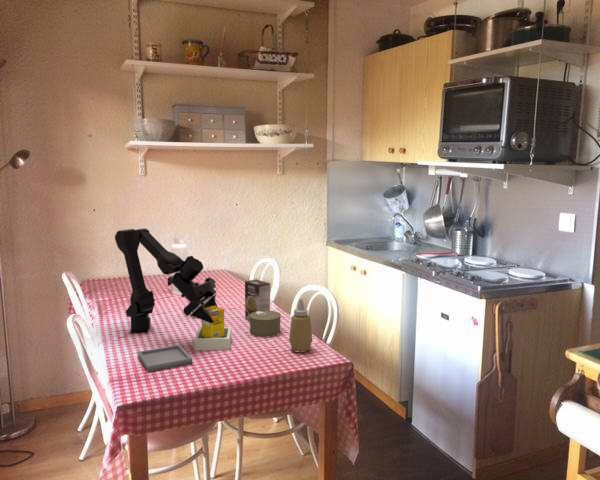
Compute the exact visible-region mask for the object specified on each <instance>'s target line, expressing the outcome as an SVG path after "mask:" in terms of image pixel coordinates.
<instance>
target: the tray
mask: <svg viewBox="0 0 600 480" xmlns="http://www.w3.org/2000/svg"><path fill="white" fill-rule="evenodd" d="M137 358H138V359H139V361H140V363H141V364H142V365H143V366H144V368H145V369H146V371H147V373H152V372H157V371H163V370H169V369H174V368H178V367H184V366H188V365H193V358H192V356H191V355H190V354H189V353H188V352H187V351H186V350H185V348H183V347H182V346H181V345H180V344H176V345H170V346H169V345H168V346H163V347H157V348H153V349H146V350H145V349H144V350H140V351H137Z"/></svg>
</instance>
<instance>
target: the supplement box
mask: <svg viewBox="0 0 600 480" xmlns="http://www.w3.org/2000/svg"><path fill="white" fill-rule="evenodd" d="M217 306H218V305H217ZM217 306H211V307H206V308H205V310H206V311H207V312H208V314H209V315H210V316H211V318H212V319H213V321H214V322H213V323H209V322H207V321H204V320H201V328H202V338H225V334H224V333H225V332H224V328H225V309H224V308H221V307H219V306H218V307H217Z"/></svg>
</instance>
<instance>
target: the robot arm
mask: <svg viewBox="0 0 600 480" xmlns="http://www.w3.org/2000/svg"><path fill="white" fill-rule="evenodd" d="M114 240H115V243H116V246H117V249H118V250H119V251H120V252H122V254H123V256H124V260H125V264H126V265H125V266H126V268H127V273H128V276H129V277H128V278H129V282H130V285H131V289H132V291H131V295H130V298H129V301H130V305H129V306H128V307H127V309H126V310H125V315H126V317H128V318H130V331H129V333H130V334H131V333H135V334H137V333H148V332H149V331H150V329H151V328H152V325H151V324H152V323H151V317H150V314H152V313H154V312H153V311H154V307H155V305H156V303H155V301H156V300H155V298H154V297H155V296H154V291H152V290H149V289H148V288H147V287H146V283H145V278H144V274H143V269H142V266H141V262H140V258H139V253H138V250H139V248H140V247H139V246H140V244H141V245H142V246H143V248H145V249H146V250H147V252H149V254H150V255H151V256H152V257H153V258H154V259H155V260H156V263H157V267H158V268H159V270H160V271H161V272H162V274H163V275H171V276H169V277H167V287H169V286H172V284H173V285H174V286H175V287H176V288H177V289H178V290H179V291H180V292H181V293H182V295H180V297H181V298H184V297H185V299H187V301H188V302H189V303H187V305H186V306H185V307H184V308H183V313H184V315H185V316H186V317H188V316H189V317H192V318H193V317H194V318H196V319H199V320H201V321H202V320H204V321H207V322H209V323H213V322H214V321H213V319H212V318H211V316H210V315H209V314H208V312H207V311H206V310H205V308H206V307H211V306H217V307H219V306H218V304H217V301H216V296H217V291H216V289H215V290H214V288H217V285H216V282H217V281H216V280H215V279H214V278H212V277H211V276H209V277H207V278H205V279H204V282H203V283H201V284H200V283H199V282H197V281H196V282H194V281H193V280H195V278H196V277H197V276H198V275H199V274H200V273H201V272H202V271H203V270H204V264H203V262H202V261H200V260H199V259H197V258H195V257H194V256H193V255H188V257H187V258H186V260H185V261H183V260H182V259H181V258H180V257H178V256H177V255H176V254H174V253H171V251H168V250H167V249H166V248H165V247H164V246H163V245H162V243H160V242H159V241H158V239H156V237H154V236H153V235H152V234H151V232H150V230H149V229H148V228H137V229H134V228H131V229H130V228H128V229H120V230H118V231H117V232H116V233H115V235H114ZM176 272H177V273H176ZM172 273H175V274H174V275H173V276H172Z"/></svg>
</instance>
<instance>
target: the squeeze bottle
mask: <svg viewBox="0 0 600 480" xmlns="http://www.w3.org/2000/svg"><path fill="white" fill-rule="evenodd" d="M308 311H309V310H308V309H307V308H305V305H304V299H301V298H299V300H298V303H297V308H295V309H294V310H293V313H294V314H293V315H292V316H291V318H290V319H291V320H290V328H289V336H288V337H289V339H288V341H289V344H290V346H291V349H292V351H293V350H294V351H293V352H295V351H299V352H298V353H302V352H301V351H307V350H309V351H310V348H311V346H312V343H313V332H312V331H313V330H312V323H311V317H310V315H309V314H308V313H309V312H308ZM307 352H308V351H307Z"/></svg>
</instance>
